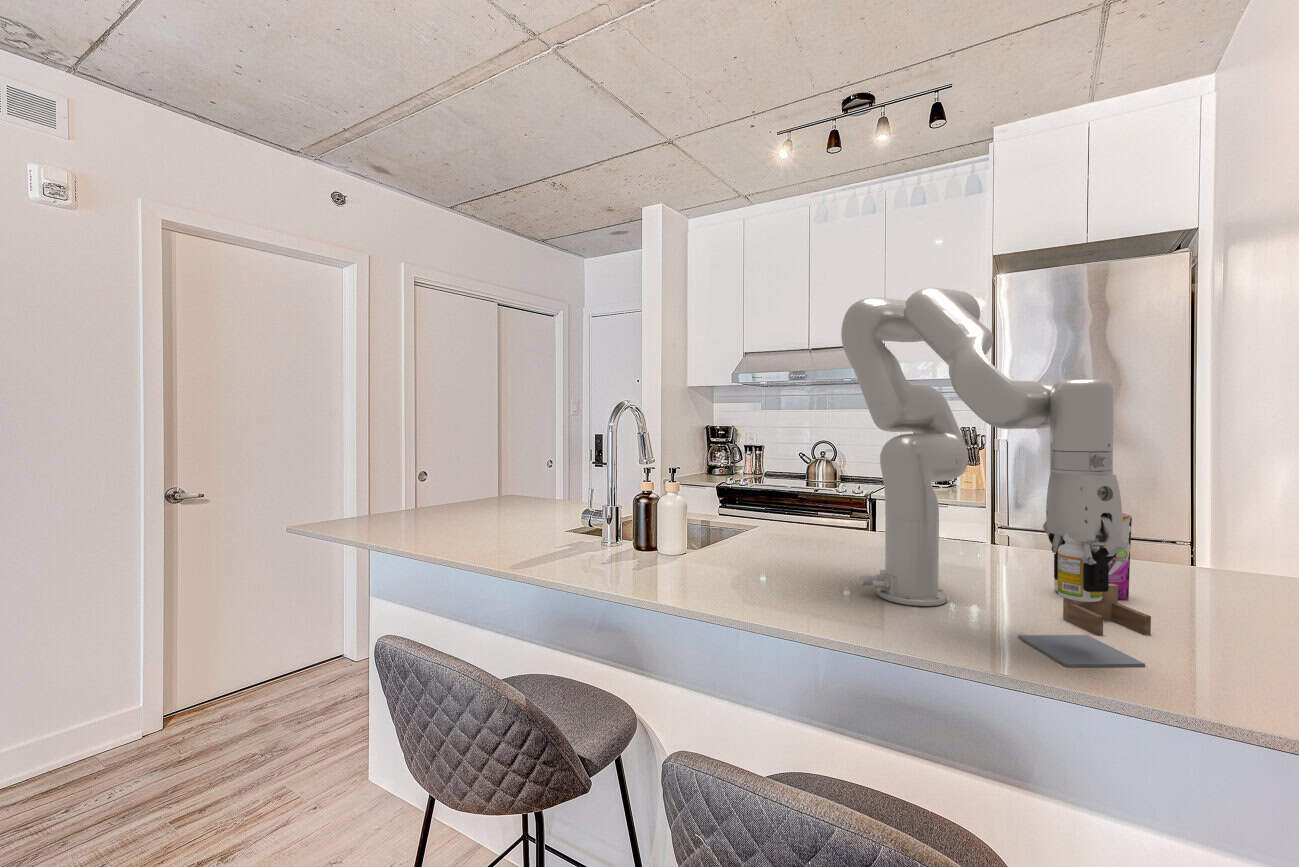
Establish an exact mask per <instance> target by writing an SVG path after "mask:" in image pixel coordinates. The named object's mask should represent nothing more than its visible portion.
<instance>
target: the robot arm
mask: <svg viewBox="0 0 1299 867" xmlns="http://www.w3.org/2000/svg"><path fill="white" fill-rule="evenodd" d="M980 319H981V308H980V305H979V302H978V301H977V299H976V298H975V297H974V296H973V295H972V294H970V293H968V292H966V291H961V290H956V289H955V290H954V289H948V288H941V287H926V288H922V289H920V290H917V291H915V292H914V293H912V294H911V295H910V296H909V297H908V298H907V299H906V300H903V299H895V298H886V297H866V298H861V299H859V300H858V301H856V302H854V303H853V304H851V306H850V307H849V308H848V309H847V311H846V312H845V314H844V317H843V320H842V324H841V333H840V335H841V336H840V337H841V343H842V348H843V351H844V353H845V356H846V357H847V360H848V362H849V363H850V365H851V368H852V369H853V371H854V373H855V376H856V378H857V381H858V384H859V388H860V391H861V393H862V396H863V398H864V401H865V403H866V406H867V408H868V411H869V413H870V416H871V419H872V421H873V423H874V424H875V426H876V428H878V429H880V431H881V430H882V431H884V432H889V433H904V434H899V435H896V436H893V437H892V438H890V439H888V440H887V442H885V444H884V445H883V447H882V449H881V450H880V451H881V452H880V455H879V463H880V464H879V465H880V470H881V476H882V479H883V488H884V501H885V502H884V516H885V520H884V522H885V525H884V529H885V535H884V536H885V538H884V540H885V541H884V544H885V545H884V569H880V570H879V573H876V574H875V575H860V577H859V584H860V586H865V587H866V586H868V587H869V586H870V587H871V588H872V589H876V594H877V596H879V597H880V598H881V599H883V600H886V601H888V602H891V603H896V604H900V605H906V606H913V607H914V606H915V607H935V606H940V605H944V604H945V603H947V601H948V594H947V593H946V592H945V591H944V590H942V589H940V588H939V583H940V582H939V580H940V579H939V574H940V573H939V570H940V568H939V566H940V565H939V563H940V562H939V561H940V560H939V559H940V554H939V553H940V550H939V549H940V508H939V507H940V506H939V501H938V498H937V495H936V494H937V493H936V492H935V489H934V488H933V485H932V483H934V482H935V483H936V482H945V481H946V482H947V481H953V480H956V479H958V478H959V477H961V476H962V475H963V474H964V472H965V471H966V470H967V467H968V465H969V452H968V447H967V444H966V443H965V442H966V441H965V440H964V437H963V434H962V432H961V430H960V428H959V426H958V423H957V421H956V419H955V418H956V417H954V413H953V411H952V409H951V407H950V405H949V402H948V401H947V399H946V398H945V396H944V395H943V394H942V393H941V392H940V391H939V390H938V389H936V388H934V387H932V386H929V385H923V384H922V385H920V384H911V383H910V382H909V381H908V380H907V378H906V377H905V375H904V372H903V370H902V367H901V365H900V362H899V361H898V359H897V358H896V356H895V355H894V353H892V351H891V350H890V349H889V348H888V347H887V346H886V345H885V344H884V342H894V343H895V342H897V343H917V342H925V344H927V345H928V347H930V349H932V350H933V352H934V353H936V355H938V357H940V358H941V359H942V360H943V362H944V363H945V364H947V366H948V374H949V376H948V377H949V378H950V382H951V385H952V388H953V390H954V392H955V393H956V394H957V396H958V398H959V399H960V400H961V401H962V402H963V403H964V404H965V406H967V407H968V408H969V409H970V410H971V412H973V413H974V414H975V415H976V416H977V417H979V419H981V420H982V421H984V422H985V423H986V424H988V425H990V426H991V427H994V428H997V429H1001V430H1015V429H1017V430H1019V429H1020V430H1021V429H1022V430H1023V429H1025V430H1034V429H1037V430H1038V429H1049V434H1050V435H1049V449H1050V451H1049V468H1050V469H1049V472H1050V474H1049V478H1048V483H1047V484H1048V485H1047V491H1046V492H1047V494H1046V506H1045V507H1046V508H1045V518H1046V519H1045V521H1044V523H1043V525H1042V528H1043V530H1044V532H1045V534H1046V535H1047V536H1048V539H1049V542H1050V544H1051V548H1050V549H1051V552H1052V553H1053V578H1054V580H1055V579H1056V580H1058V548H1059V546H1060V545H1063V544H1065V541H1064V539H1063V536H1064V535H1065V534H1067V535H1068V536H1069V537H1070V538H1072V539H1074V540H1076V541H1079V542H1082V543H1083V546H1084V550H1085V554H1086V559H1087V562H1088V563H1084V566H1083V588H1084V590H1085V591H1087V592H1107V591H1108V589H1109V565H1110V564H1112V559H1113V558H1114V557H1115V556H1116V555H1117V553H1118V552H1119V551H1121V550H1122V549H1123V548H1124V546H1125V545H1124V542H1123V541H1122V539H1123V517H1122V513H1123V505H1122V498H1121V492H1120V490H1121V489H1120V486H1119V482H1118V479H1117V475H1116V474H1114V473H1113V472H1114V471H1113V469H1114V468H1113V465H1114V464H1113V463H1114V460H1113V459H1114V457H1113V456H1114V455H1113V454H1114V452H1113V450H1114V388H1113V385H1112V384H1111V382H1110V381H1108V380H1105V379H1101V378H1100V379H1099V378H1080V379H1078V378H1077V379H1066V380H1064V379H1063V380H1060V381H1056V382H1051V381H1050V382H1048V381H1034V380H1033V381H1030V380H1011V379H1010V378H1008V377H1007V376H1006V375H1005V374H1004V373H1003V372H1001V371H1000V370H999V369H998V368H997V367H996V366H995V365H994V364H993V363H992V362H991V361H990V359H988V357H987V356H986V355H987V354H988V352H990V349H991V348H992V346H993V343H994V336H993V333H992V331H991V330H990V329H989V328H988V327H986V325H984V324H983V323H982V322H981V321H980ZM907 432H911V433H907ZM905 433H906V434H905ZM1095 538H1097V540H1099V541H1097V542H1094V541H1095V540H1096V539H1095ZM1094 547H1099V548H1100V549H1099V550H1098V551H1097V552H1096V553H1095V552H1094Z"/></svg>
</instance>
